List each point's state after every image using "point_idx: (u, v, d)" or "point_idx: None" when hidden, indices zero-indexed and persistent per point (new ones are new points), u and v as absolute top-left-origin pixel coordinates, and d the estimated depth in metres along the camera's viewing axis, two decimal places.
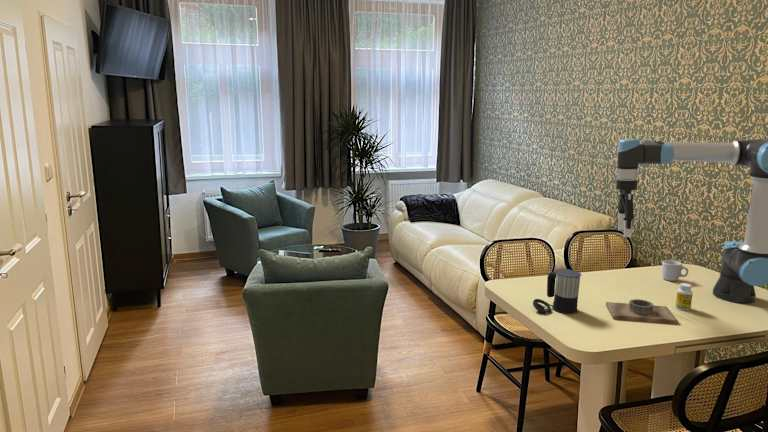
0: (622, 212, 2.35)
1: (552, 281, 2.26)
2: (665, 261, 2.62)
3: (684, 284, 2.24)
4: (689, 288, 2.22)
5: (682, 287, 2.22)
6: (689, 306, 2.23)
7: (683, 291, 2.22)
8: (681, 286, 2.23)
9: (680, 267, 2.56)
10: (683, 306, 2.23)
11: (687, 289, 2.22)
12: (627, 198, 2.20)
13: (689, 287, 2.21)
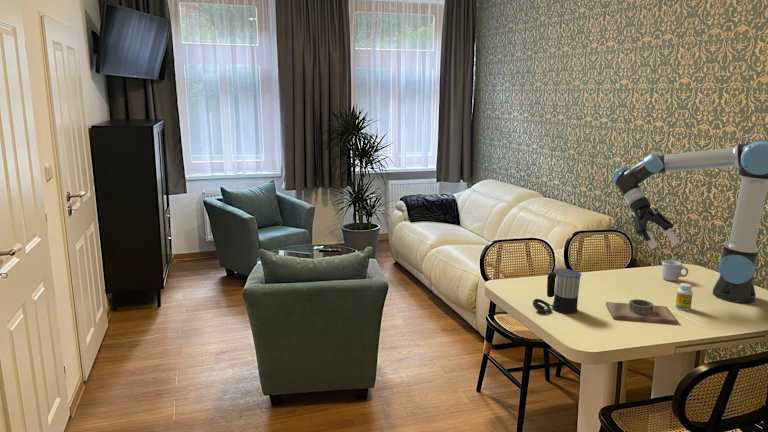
0: (667, 228, 2.36)
1: (552, 281, 2.26)
2: (665, 261, 2.62)
3: (684, 284, 2.24)
4: (689, 288, 2.22)
5: (682, 287, 2.22)
6: (689, 306, 2.23)
7: (683, 291, 2.22)
8: (681, 286, 2.23)
9: (680, 267, 2.56)
10: (683, 306, 2.23)
11: (687, 289, 2.22)
12: (633, 216, 2.33)
13: (689, 287, 2.21)
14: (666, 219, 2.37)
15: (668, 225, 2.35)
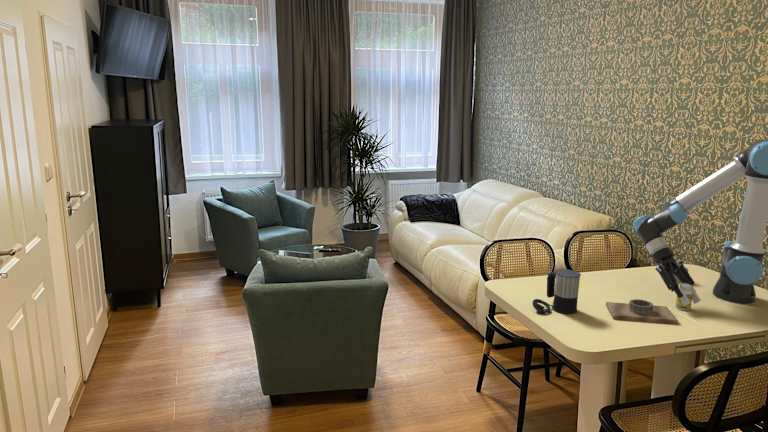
0: None
1: (552, 281, 2.26)
2: None
3: (684, 284, 2.24)
4: (689, 288, 2.22)
5: (682, 287, 2.22)
6: (689, 306, 2.23)
7: None
8: (681, 286, 2.23)
9: None
10: (683, 306, 2.23)
11: (687, 289, 2.22)
12: (658, 271, 2.26)
13: (689, 287, 2.21)
14: (688, 274, 2.28)
15: (689, 281, 2.26)
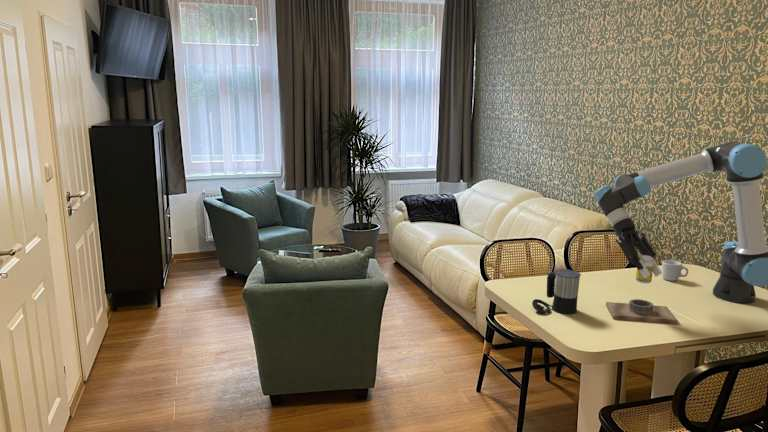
0: None
1: (552, 281, 2.26)
2: (665, 261, 2.62)
3: (645, 256, 2.14)
4: (649, 260, 2.12)
5: (642, 259, 2.13)
6: (650, 279, 2.13)
7: None
8: (641, 258, 2.13)
9: (680, 267, 2.56)
10: (643, 279, 2.13)
11: (647, 261, 2.12)
12: (618, 242, 2.16)
13: (649, 259, 2.12)
14: (650, 246, 2.19)
15: (650, 253, 2.16)
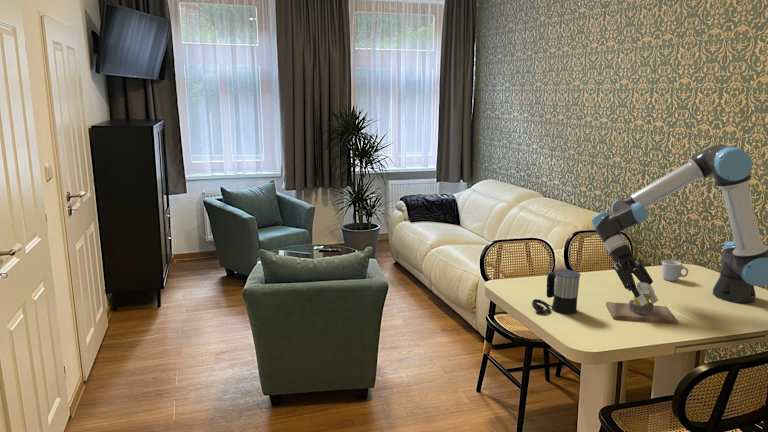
0: None
1: (552, 281, 2.25)
2: (665, 261, 2.62)
3: (641, 283, 2.16)
4: (646, 287, 2.14)
5: (639, 286, 2.15)
6: None
7: None
8: (638, 285, 2.15)
9: (680, 267, 2.56)
10: None
11: (644, 288, 2.14)
12: (615, 269, 2.19)
13: (646, 286, 2.14)
14: (647, 273, 2.21)
15: (647, 280, 2.18)
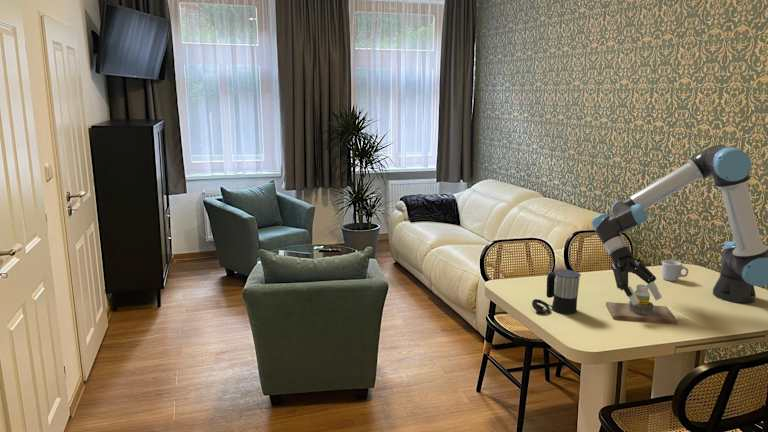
0: (650, 282, 2.21)
1: (552, 281, 2.25)
2: (665, 261, 2.62)
3: (641, 285, 2.16)
4: (646, 289, 2.14)
5: (639, 288, 2.15)
6: None
7: (640, 292, 2.15)
8: (637, 287, 2.16)
9: (680, 267, 2.56)
10: None
11: (644, 290, 2.14)
12: (613, 268, 2.19)
13: (646, 288, 2.14)
14: (649, 271, 2.22)
15: (650, 278, 2.20)
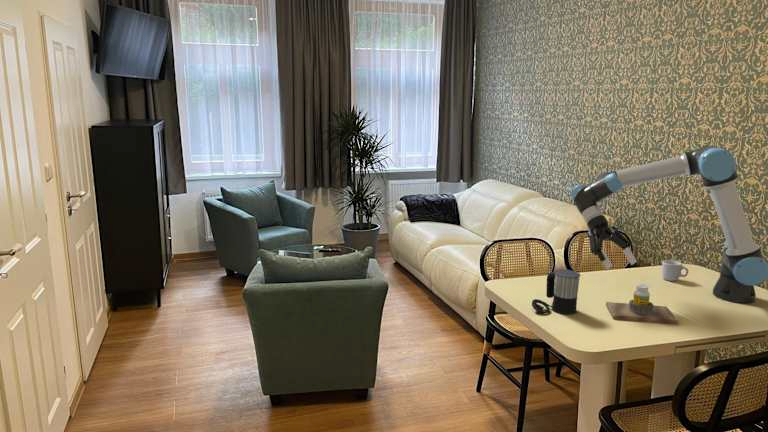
0: (625, 247, 2.30)
1: (552, 281, 2.25)
2: (665, 261, 2.62)
3: (641, 285, 2.16)
4: (646, 289, 2.14)
5: (638, 288, 2.15)
6: None
7: (639, 293, 2.15)
8: (637, 287, 2.16)
9: (680, 267, 2.56)
10: None
11: (643, 290, 2.14)
12: (589, 235, 2.28)
13: (645, 288, 2.14)
14: (624, 238, 2.31)
15: (626, 244, 2.30)
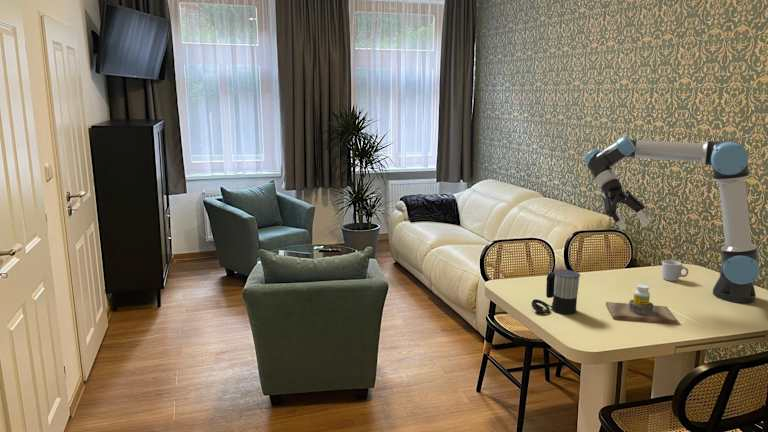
0: (639, 210, 2.36)
1: (551, 282, 2.25)
2: (665, 261, 2.62)
3: (641, 285, 2.16)
4: (646, 290, 2.14)
5: (639, 288, 2.15)
6: None
7: (640, 293, 2.15)
8: (638, 287, 2.16)
9: (680, 267, 2.56)
10: None
11: (644, 291, 2.14)
12: (603, 198, 2.33)
13: (646, 289, 2.14)
14: (638, 201, 2.37)
15: (639, 207, 2.35)
